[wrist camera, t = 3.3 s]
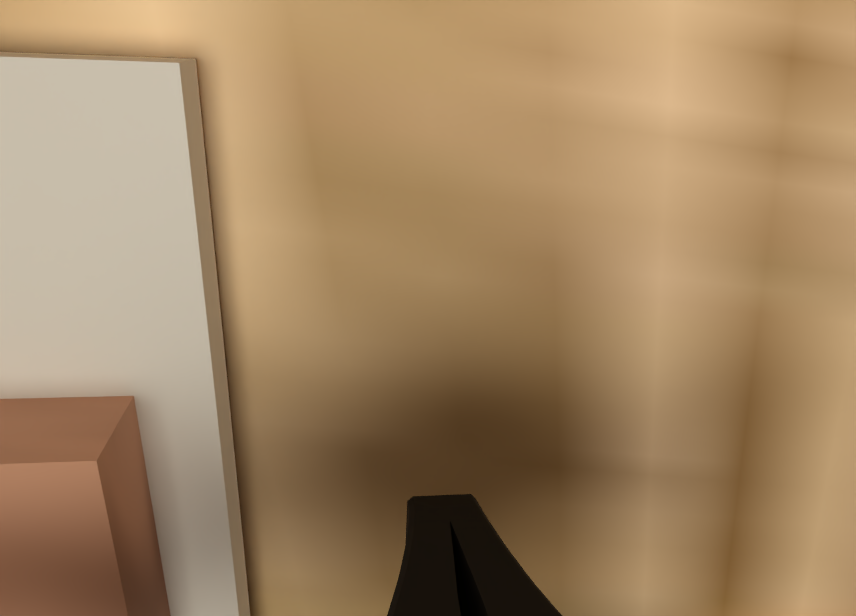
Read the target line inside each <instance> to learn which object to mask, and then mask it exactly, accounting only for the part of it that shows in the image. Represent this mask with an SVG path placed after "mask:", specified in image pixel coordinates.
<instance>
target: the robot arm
mask: <svg viewBox="0 0 856 616" xmlns="http://www.w3.org/2000/svg"><path fill="white" fill-rule="evenodd" d="M387 616H562V615H561V614H560V613H559V612H558V610H557V609H556V608H555V607H554V606H553V605H552V604H551V603H550V601H549V600H548V599H547V598H546V597H545V596H544V594H543V593H542V592H541V591H540V590H539V588H538V587H537V586H536V585H535V584H534V582H533V581H532V580H531V579H530V577H529V576H528V575H527V574H526V572H525V571H524V570H523V568H522V567H521V566H520V564H519V563H518V562H517V560H516V559H515V558H514V556H513V555H512V554H511V552H510V551H509V550H508V548H507V547H506V545H505V544H504V543H503V541H502V540H501V538H500V537H499V535H498V534H497V532H496V531H495V529H494V528H493V526H492V525H491V523H490V522H489V520H488V519H487V517H486V515H485V514H484V512H483V511H482V509H481V507H480V506H479V504H478V502H477V500H476V499H475V498H474V497H473V496H472V495H471V494H462V495H438V496H413V497H412V498H411V499H409V500H408V501H407V523H406V546H405V551H404V556H403V560H402V565H401V570H400V574H399V578H398V582H397V585H396V588H395V592H394V595H393V598H392V602H391V605H390V608H389V611H388V614H387Z"/></svg>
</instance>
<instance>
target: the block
mask: <svg viewBox="0 0 856 616" xmlns="http://www.w3.org/2000/svg"><path fill="white" fill-rule="evenodd" d="M0 616H171V615H170V609H169V603H168V597H167V591H166V585H165V579H164V573H163V567H162V561H161V555H160V549H159V544H158V538H157V532H156V526H155V520H154V514H153V508H152V502H151V496H150V490H149V484H148V478H147V472H146V466H145V460H144V454H143V448H142V442H141V436H140V430H139V424H138V418H137V412H136V406H135V400H134V396H104V397H61V398H18V399H0Z"/></svg>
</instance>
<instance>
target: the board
mask: <svg viewBox="0 0 856 616" xmlns="http://www.w3.org/2000/svg"><path fill="white" fill-rule="evenodd" d="M104 396H134V400H135V406H136V412H137V418H138V424H139V430H140V436H141V442H142V448H143V454H144V460H145V466H146V472H147V478H148V484H149V490H150V496H151V502H152V508H153V514H154V520H155V526H156V532H157V538H158V544H159V549H160V555H161V561H162V567H163V573H164V579H165V585H166V591H167V597H168V603H169V609H170V615H171V616H250V606H249V596H248V586H247V575H246V565H245V555H244V545H243V535H242V524H241V514H240V504H239V494H238V484H237V474H236V463H235V453H234V443H233V433H232V423H231V412H230V402H229V392H228V382H227V372H226V361H225V351H224V341H223V331H222V321H221V311H220V300H219V290H218V280H217V270H216V260H215V249H214V239H213V229H212V219H211V209H210V198H209V188H208V178H207V168H206V158H205V147H204V137H203V127H202V117H201V107H200V97H199V86H198V76H197V66H196V59H190V58H162V57H134V56H106V55H78V54H51V53H23V52H0V399H18V398H61V397H104Z"/></svg>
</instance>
